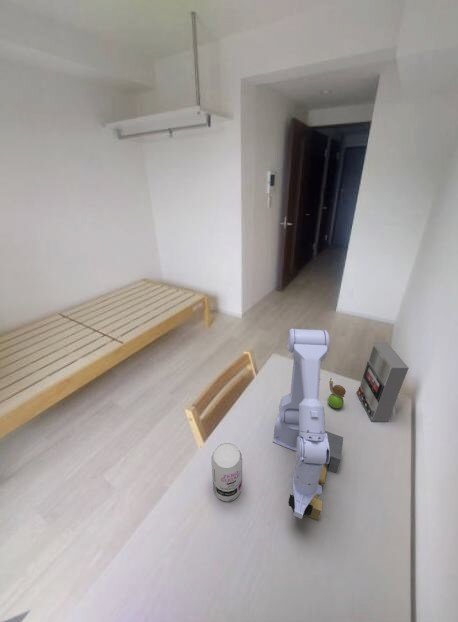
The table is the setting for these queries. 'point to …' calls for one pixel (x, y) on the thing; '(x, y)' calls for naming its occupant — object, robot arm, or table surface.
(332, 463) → the bore block
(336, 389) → the snail figurine
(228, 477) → the supplement can
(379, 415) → the cassette tape recorder
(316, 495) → the plunger with bar handle
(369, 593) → the table surface
